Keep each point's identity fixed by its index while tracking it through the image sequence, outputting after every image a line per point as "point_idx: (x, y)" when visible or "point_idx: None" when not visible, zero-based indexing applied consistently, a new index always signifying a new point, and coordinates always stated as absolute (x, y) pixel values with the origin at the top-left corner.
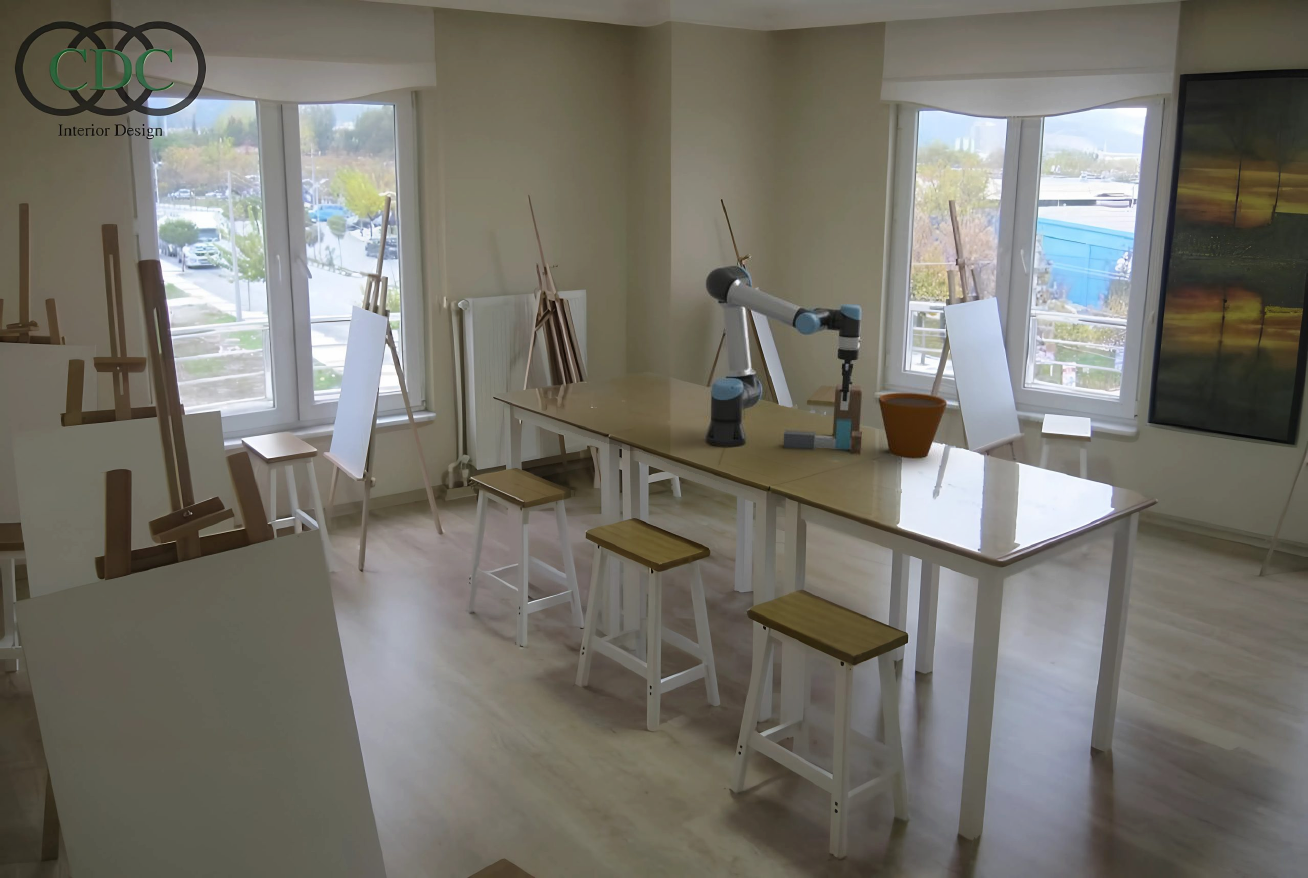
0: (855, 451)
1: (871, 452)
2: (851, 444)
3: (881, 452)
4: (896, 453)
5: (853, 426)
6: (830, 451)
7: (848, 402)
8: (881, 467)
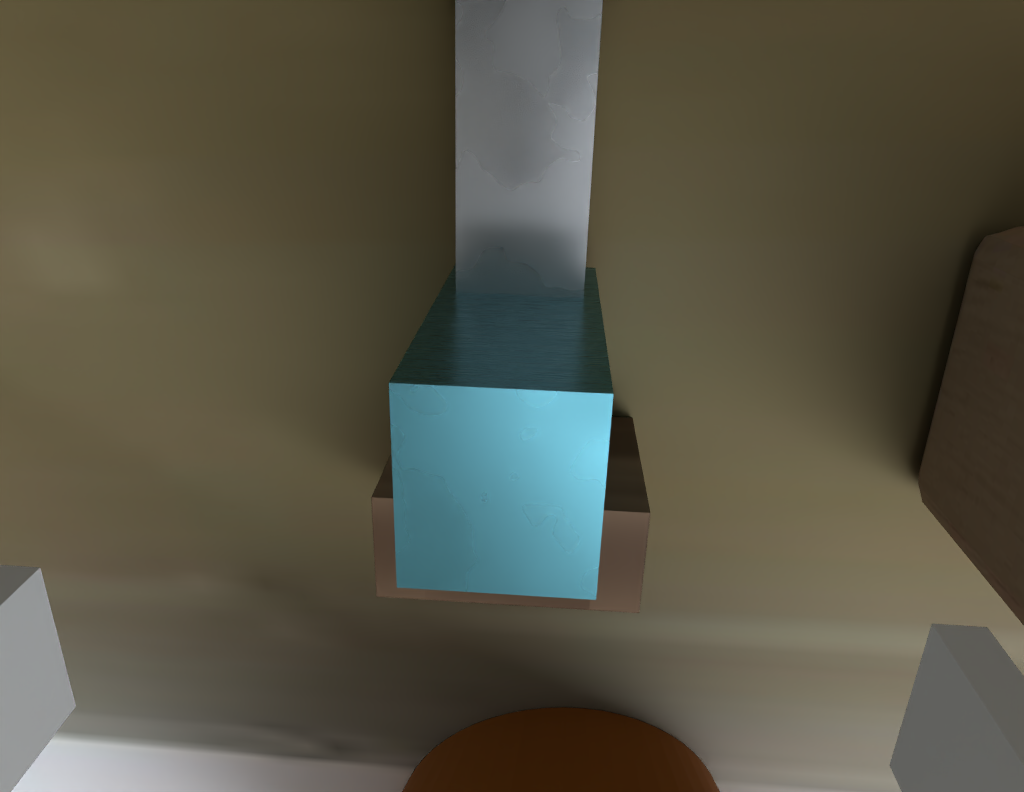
0: None
1: None
2: None
3: (525, 651)
4: (434, 756)
5: (1001, 526)
6: (433, 205)
7: (894, 754)
8: None
